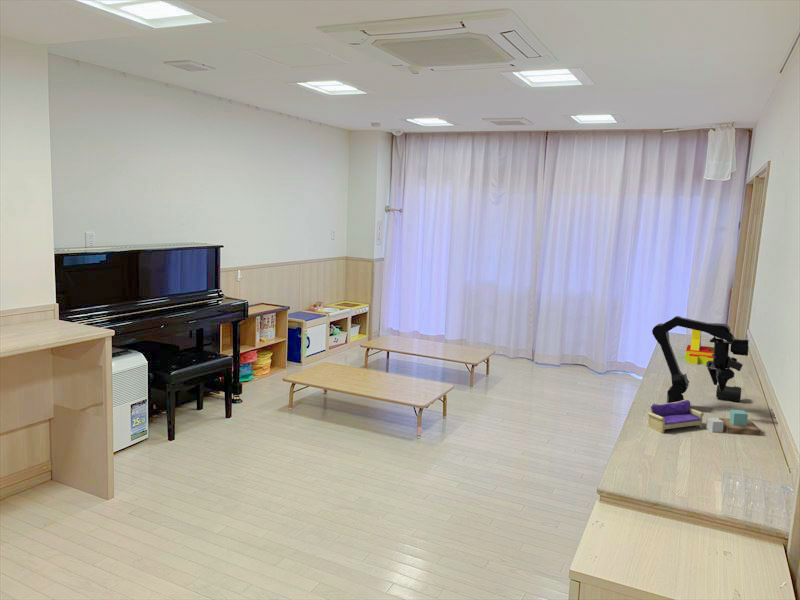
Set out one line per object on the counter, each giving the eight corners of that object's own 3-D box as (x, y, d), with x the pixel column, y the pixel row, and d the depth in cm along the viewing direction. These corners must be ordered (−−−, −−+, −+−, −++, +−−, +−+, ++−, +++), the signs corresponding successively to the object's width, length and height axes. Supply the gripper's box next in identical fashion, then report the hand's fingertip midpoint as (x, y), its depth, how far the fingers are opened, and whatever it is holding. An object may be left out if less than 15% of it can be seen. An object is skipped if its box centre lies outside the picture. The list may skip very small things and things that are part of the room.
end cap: (715, 400, 290) (716, 386, 289) (717, 396, 295) (718, 383, 294) (739, 403, 284) (740, 389, 283) (741, 400, 290) (742, 386, 289)
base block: (727, 434, 245) (727, 427, 245) (718, 424, 257) (718, 418, 256) (759, 437, 243) (760, 429, 242) (749, 426, 254) (749, 419, 254)
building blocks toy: (684, 363, 362) (686, 333, 359) (687, 355, 383) (689, 326, 381) (719, 367, 353) (722, 336, 350) (721, 358, 374) (723, 329, 372)
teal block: (733, 425, 248) (734, 413, 247) (729, 421, 252) (730, 409, 252) (746, 426, 247) (747, 414, 246) (742, 422, 251) (743, 410, 251)
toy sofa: (661, 434, 245) (662, 409, 244) (646, 427, 253) (647, 403, 252) (703, 428, 251) (705, 404, 250) (687, 422, 259) (689, 398, 258)
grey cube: (712, 432, 246) (712, 421, 246) (705, 428, 251) (706, 418, 250) (722, 432, 247) (723, 421, 246) (716, 428, 251) (717, 418, 251)
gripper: (748, 358, 254) (746, 395, 256) (734, 349, 272) (731, 383, 275) (720, 357, 257) (717, 393, 259) (707, 348, 275) (704, 381, 277)
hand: (718, 387), depth 267 cm, fingers open, 9 cm apart
